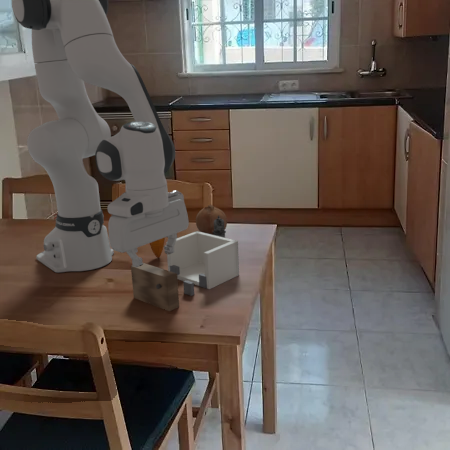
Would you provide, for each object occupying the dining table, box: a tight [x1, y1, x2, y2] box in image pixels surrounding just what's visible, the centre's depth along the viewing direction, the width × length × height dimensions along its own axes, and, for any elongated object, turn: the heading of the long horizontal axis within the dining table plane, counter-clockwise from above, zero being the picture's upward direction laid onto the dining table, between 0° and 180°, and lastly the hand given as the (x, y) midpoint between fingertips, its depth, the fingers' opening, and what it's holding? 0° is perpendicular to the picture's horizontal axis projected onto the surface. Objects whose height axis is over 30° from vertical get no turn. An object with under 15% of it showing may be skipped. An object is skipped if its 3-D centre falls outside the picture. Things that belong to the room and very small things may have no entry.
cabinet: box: [165, 230, 240, 297], centre depth 144 cm, size 14×16×9 cm
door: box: [130, 262, 180, 312], centre depth 131 cm, size 12×4×8 cm, turn 49°
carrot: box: [149, 237, 166, 259], centre depth 158 cm, size 5×5×15 cm
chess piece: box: [213, 216, 227, 238], centre depth 157 cm, size 6×6×12 cm
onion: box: [195, 203, 228, 235], centre depth 175 cm, size 10×9×10 cm
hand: (154, 259), depth 129 cm, fingers open, 8 cm apart
